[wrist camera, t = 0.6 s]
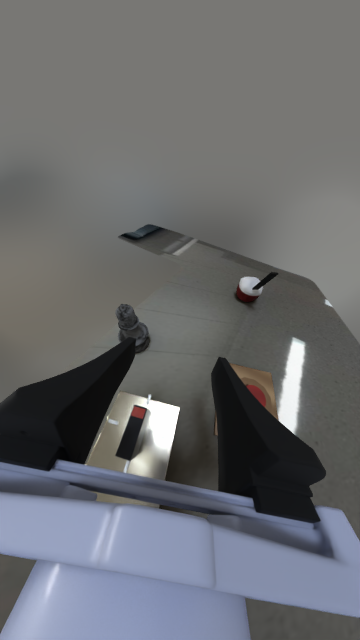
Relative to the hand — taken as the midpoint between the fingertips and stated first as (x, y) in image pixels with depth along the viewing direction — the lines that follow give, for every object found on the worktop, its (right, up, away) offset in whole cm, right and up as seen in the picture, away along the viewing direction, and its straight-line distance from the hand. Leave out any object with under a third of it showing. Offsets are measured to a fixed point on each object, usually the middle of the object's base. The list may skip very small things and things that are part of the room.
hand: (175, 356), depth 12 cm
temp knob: (-5, -12, +8) cm, 16 cm away
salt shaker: (-9, -2, +19) cm, 21 cm away
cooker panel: (-6, -15, +9) cm, 19 cm away
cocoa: (+19, +9, +29) cm, 36 cm away
